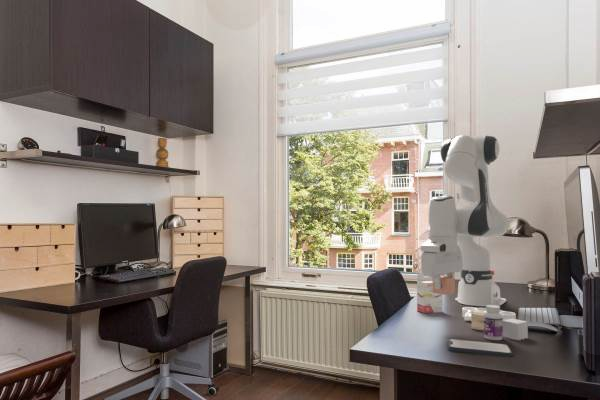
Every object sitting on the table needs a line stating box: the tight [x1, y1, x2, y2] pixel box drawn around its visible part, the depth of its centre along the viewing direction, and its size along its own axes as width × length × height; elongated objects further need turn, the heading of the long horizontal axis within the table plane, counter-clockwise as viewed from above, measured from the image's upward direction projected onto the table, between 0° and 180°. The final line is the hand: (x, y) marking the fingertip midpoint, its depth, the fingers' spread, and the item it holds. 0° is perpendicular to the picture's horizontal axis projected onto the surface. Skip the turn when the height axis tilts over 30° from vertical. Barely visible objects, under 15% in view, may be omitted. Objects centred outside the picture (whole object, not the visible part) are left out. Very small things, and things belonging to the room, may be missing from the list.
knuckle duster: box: [461, 306, 517, 322], centre depth 155 cm, size 3×18×15 cm
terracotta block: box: [433, 275, 456, 296], centre depth 142 cm, size 5×5×5 cm
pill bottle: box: [483, 305, 504, 341], centre depth 132 cm, size 5×5×10 cm
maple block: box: [470, 311, 485, 331], centre depth 144 cm, size 5×5×5 cm
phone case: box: [447, 338, 513, 357], centre depth 121 cm, size 9×2×16 cm
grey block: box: [503, 318, 529, 341], centre depth 133 cm, size 5×5×5 cm
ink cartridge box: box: [416, 272, 443, 314], centre depth 169 cm, size 9×5×15 cm, turn 108°
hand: (443, 287), depth 142 cm, fingers closed on terracotta block, 5 cm apart
